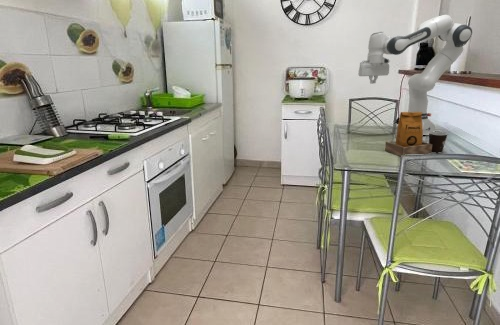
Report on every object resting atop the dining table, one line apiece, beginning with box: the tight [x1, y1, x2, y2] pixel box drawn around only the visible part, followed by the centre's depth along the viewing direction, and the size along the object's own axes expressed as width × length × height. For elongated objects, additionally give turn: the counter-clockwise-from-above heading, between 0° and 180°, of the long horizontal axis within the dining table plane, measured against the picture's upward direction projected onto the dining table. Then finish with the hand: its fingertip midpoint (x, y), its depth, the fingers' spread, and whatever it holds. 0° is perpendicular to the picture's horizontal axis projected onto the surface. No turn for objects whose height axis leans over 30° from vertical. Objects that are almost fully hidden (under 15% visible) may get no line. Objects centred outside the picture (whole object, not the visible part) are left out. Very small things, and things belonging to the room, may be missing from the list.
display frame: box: [384, 141, 432, 157], centre depth 179 cm, size 18×14×5 cm
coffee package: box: [395, 111, 424, 147], centre depth 176 cm, size 10×12×22 cm
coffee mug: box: [428, 131, 448, 153], centre depth 178 cm, size 12×9×10 cm
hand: (372, 83), depth 206 cm, fingers closed
